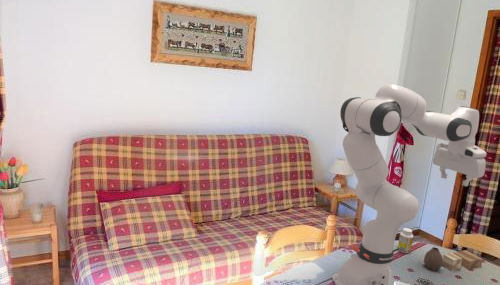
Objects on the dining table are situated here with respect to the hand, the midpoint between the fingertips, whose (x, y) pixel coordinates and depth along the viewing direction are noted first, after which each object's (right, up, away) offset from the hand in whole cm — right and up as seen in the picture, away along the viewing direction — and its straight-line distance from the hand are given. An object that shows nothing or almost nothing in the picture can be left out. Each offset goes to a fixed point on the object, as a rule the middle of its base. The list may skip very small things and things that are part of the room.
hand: (454, 181), depth 149 cm
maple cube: (+4, -37, +10) cm, 39 cm away
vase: (-5, -37, +8) cm, 38 cm away
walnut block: (+13, -37, +14) cm, 42 cm away
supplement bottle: (-11, -34, +21) cm, 41 cm away
